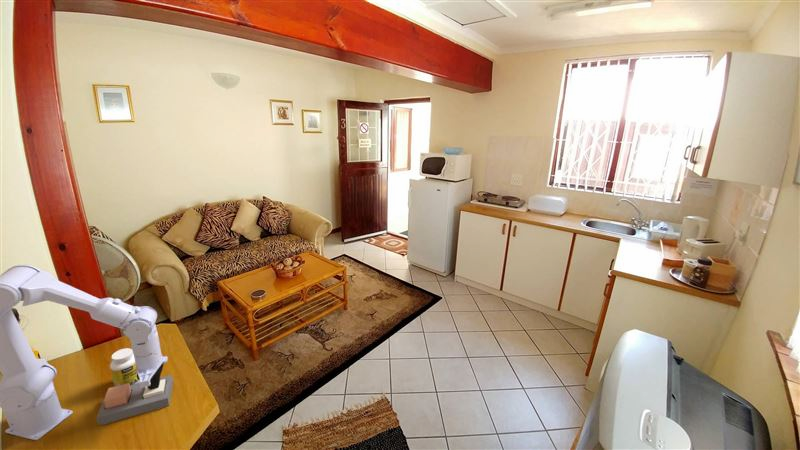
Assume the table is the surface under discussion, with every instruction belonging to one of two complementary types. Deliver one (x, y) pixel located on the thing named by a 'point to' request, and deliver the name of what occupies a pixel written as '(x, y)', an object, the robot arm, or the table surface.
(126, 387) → the key terracotta
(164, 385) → the key cream
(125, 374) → the pill bottle
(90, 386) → the table surface
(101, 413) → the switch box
